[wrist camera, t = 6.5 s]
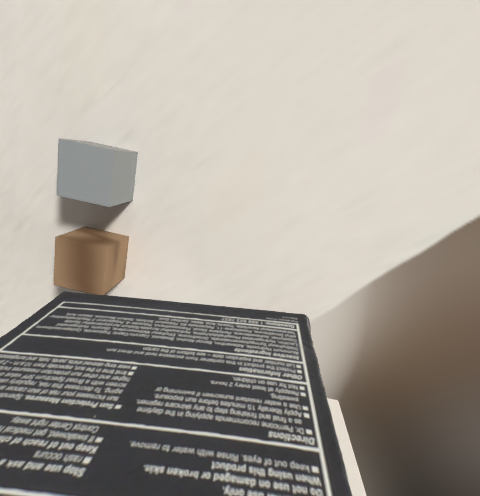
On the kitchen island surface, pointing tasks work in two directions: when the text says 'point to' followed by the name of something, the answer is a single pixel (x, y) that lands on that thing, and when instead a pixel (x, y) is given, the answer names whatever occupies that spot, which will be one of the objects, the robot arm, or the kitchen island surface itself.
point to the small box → (164, 402)
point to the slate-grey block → (95, 172)
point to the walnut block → (90, 260)
